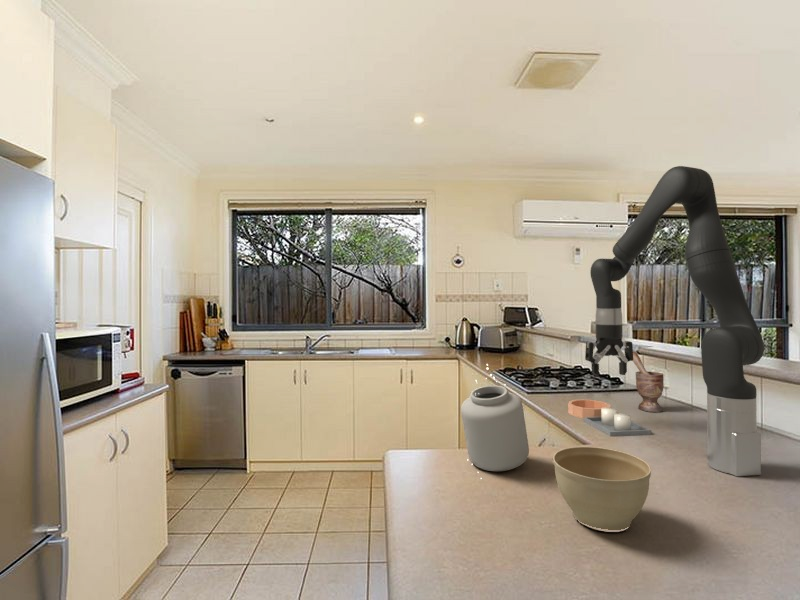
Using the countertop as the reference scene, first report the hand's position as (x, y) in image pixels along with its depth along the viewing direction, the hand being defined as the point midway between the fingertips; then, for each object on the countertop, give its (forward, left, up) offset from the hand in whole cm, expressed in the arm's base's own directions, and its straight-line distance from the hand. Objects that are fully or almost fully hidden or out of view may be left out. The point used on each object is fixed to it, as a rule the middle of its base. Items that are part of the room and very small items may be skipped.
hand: (609, 374), depth 135 cm
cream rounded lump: (0, 0, -15) cm, 15 cm away
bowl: (+12, 0, -16) cm, 20 cm away
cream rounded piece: (-7, 0, -15) cm, 17 cm away
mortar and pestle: (+18, -24, -16) cm, 34 cm away
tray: (-4, 0, -16) cm, 16 cm away
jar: (-26, +45, -16) cm, 55 cm away
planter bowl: (-53, +33, -16) cm, 65 cm away
